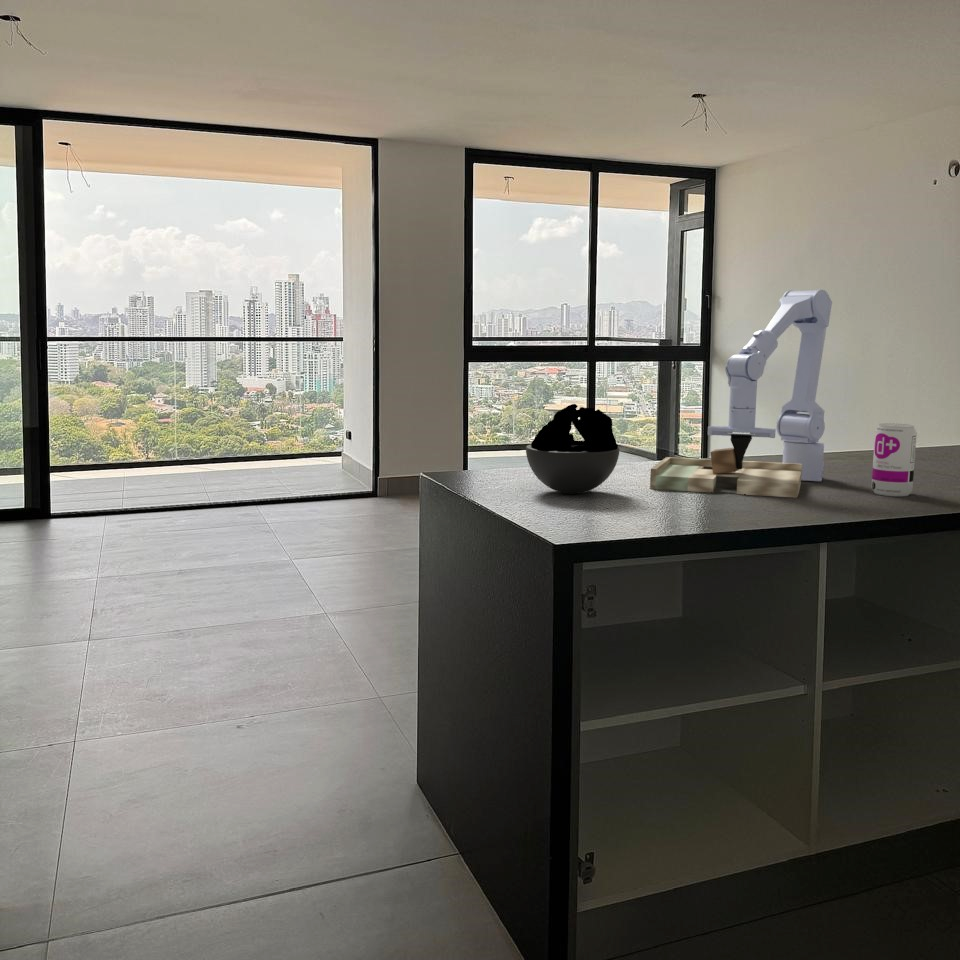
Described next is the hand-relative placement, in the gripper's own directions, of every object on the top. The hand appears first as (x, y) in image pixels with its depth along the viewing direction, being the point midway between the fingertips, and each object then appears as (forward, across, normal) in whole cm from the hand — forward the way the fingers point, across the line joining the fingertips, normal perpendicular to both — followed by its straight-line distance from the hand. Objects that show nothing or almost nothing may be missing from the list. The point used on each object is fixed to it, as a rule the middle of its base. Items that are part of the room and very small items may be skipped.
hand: (739, 468), depth 220 cm
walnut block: (+1, -3, 0) cm, 3 cm away
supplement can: (+4, +32, +3) cm, 32 cm away
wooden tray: (+4, -3, +1) cm, 5 cm away
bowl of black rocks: (+5, -33, -21) cm, 40 cm away
